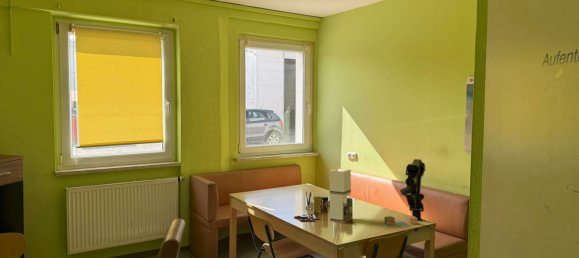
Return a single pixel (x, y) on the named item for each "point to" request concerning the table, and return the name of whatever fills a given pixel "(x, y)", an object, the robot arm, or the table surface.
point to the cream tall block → (339, 194)
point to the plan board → (397, 224)
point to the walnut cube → (389, 221)
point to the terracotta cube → (411, 220)
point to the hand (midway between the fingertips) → (412, 206)
